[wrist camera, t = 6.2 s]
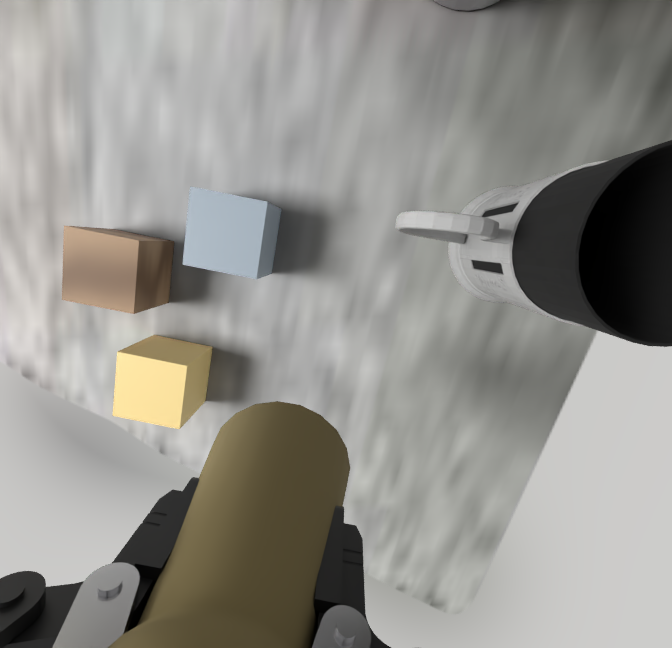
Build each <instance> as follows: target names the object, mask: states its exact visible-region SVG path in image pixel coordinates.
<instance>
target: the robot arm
mask: <svg viewBox="0 0 672 648" xmlns="http://www.w3.org/2000/svg"><path fill="white" fill-rule="evenodd" d="M434 1H435V2H437V3H438V4H440V5H442V6H445V7H448V8H451V9H454V10H467V11H469V10H475V9H481V8H485V7H487V6H490V5H492V4H494V3H497V2H499V1H500V0H434ZM199 479H200V478H195V477H193V478H192V479H191V480H190V481H189V483H188V484H187V486H186V487H185V489H184V490H183V492H182V491H177V490H172V491H170V492H169V493H167V494H166V495H165V496H163V497H162V498H160V499H159V500H158V502H157V503H156V504H155V506H154V507H153V508H152V510H151V511H150V513H149V514H148V515H147V517H146V518H145V519H144V521H143V523H142V524H141V525H140V526H139V527H138V529H137V530H136V531H135V533H134V534H133V535H132V537H131V538H130V540H129V541H128V542H127V544H126V545H125V546H124V548H123V549H122V550H121V552H120V553H119V554H118V556H117V557H116V558H115V560H114V561H113V562H112V564H108V565H105V566H103V567H101V568H99V569H97V570H96V571H94V572H93V573H92V574H90V575H89V576H88V577H87V578H86V580H85V581H83V582H80V583H75V584H68V585H60V586H51V587H46V583H45V579H44V577H43V576H42V575H41V574H39V573H37V572H32V571H23V572H17V573H13V574H10V575H7V576H5V577H3V578H1V579H0V648H108V647H109V646H110V645H111V644H112V643H114V642H115V641H116V640H117V639H118V638H119V637H120V636H122V635H123V634H125V633H126V632H128V631H130V630H131V629H133V628H135V627H136V626H137V624H138V622H139V620H140V617H141V615H142V613H143V610H144V608H145V605H146V603H147V601H148V598H149V596H150V594H151V592H152V589H153V587H154V585H155V583H156V581H157V579H158V577H159V575H160V574H161V572H162V570H163V568H164V566H165V564H166V562H167V560H168V558H169V556H170V554H171V552H172V550H173V548H174V546H175V543H176V540H177V538H178V535H179V532H180V530H181V527H182V525H183V522H184V519H185V517H186V514H187V511H188V509H189V506H190V503H191V501H192V498H193V496H194V493H195V490H196V488H197V485H198V482H199ZM314 609H315V614H316V618H317V625H316V630H315V635H314V640H313V646H312V648H391V647H389V646H387V645H386V644H384V643H383V642H382V641H381V640H379V639H378V638H377V636H376V635H375V634H374V633H373V631H372V630H371V628H370V626H369V624H368V622H367V619H366V615H365V596H364V570H363V543H362V537H361V535H360V533H359V531H358V529H357V527H356V526H355V525H350V524H345V523H344V507H342V506H336V507H335V510H334V514H333V518H332V522H331V526H330V530H329V533H328V537H327V541H326V545H325V549H324V553H323V557H322V561H321V565H320V569H319V572H318V576H317V582H316V590H315V598H314Z"/></svg>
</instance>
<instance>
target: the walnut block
mask: <svg viewBox="0 0 672 648" xmlns="http://www.w3.org/2000/svg"><path fill="white" fill-rule="evenodd" d="M173 250H174V241H170V240H165V239H160V238H155V237H149V236H144V235H139V234H134V233H129V232H124V231H119V230H114V229H104V228H89V227H75V226H64V245H63V281H62V300H66V301H71V302H76V303H81V304H86V305H91V306H96V307H102V308H107V309H112V310H117V311H122V312H127V313H132V314H135V313H138V312H141V311H144V310H147V309H150V308H154V307H157V306H160V305H163V304H166V303H169V294H170V283H171V272H172V261H173Z"/></svg>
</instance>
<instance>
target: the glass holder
mask: <svg viewBox="0 0 672 648" xmlns="http://www.w3.org/2000/svg"><path fill="white" fill-rule="evenodd" d="M395 227H396V229H397V230H398V231H400V232H403V233H406V234H410V235H414V236H419V237H425V238H430V239H436V240H442V241H447V242H449V245H448V255H449V262H450V266H451V269H452V271H453V274H454V276H455V278H456V279H457V280H458V282H459V283H460V285H461V286H462V287H463V288H464V289H465V290H467V291H468V292H469V293H471V294H472V295H474V296H475V297H478V298H480V299H483V300H486V301H490V302H501V303H505V302H508V303H511V304H514V305H516V306H519V307H522V308H525V309H528V310H530V311H533V312H536V313H539V314H542V315H544V316H547V317H550V318H553V319H555V320H558V321H561V322H565V323H569V324H573V325H578V326H587V327H589V328H592V329H595V330H598V331H601V332H605V333H607V334H610V335H613V336H616V337H619V338H622V339H625V340H628V341H631V342H634V343H638V344H643V345H647V346H664V347H667V346H672V140H671V141H668V142H664V143H661V144H658V145H655V146H652V147H649V148H646V149H643V150H640V151H637V152H634V153H631V154H628V155H625V156H622V157H618V158H615V159H612V160H608V161H600V162H594V163H589V164H585V165H582V166H579V167H576V168H573V169H570V170H567V171H564V172H561V173H558V174H555V175H552V176H549V177H546V178H543V179H541V180H538V181H535V182H532V183H529V184H526V185H523V186H505V187H499V188H495V189H492V190H489V191H487V192H485V193H483V194H481V195H479V196H478V197H476V198H475V199H474V200H473V201H471V202H470V203H469V204H468V205H467V206H466V207H465V208H464V209H463V210H462V212H461V213H460V214H459V213H450V212H438V211H407V212H403V213H400V214H399V215H398V217H397V219H396V225H395Z"/></svg>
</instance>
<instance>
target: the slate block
mask: <svg viewBox="0 0 672 648" xmlns="http://www.w3.org/2000/svg"><path fill="white" fill-rule="evenodd" d="M281 210H282V209H280V208H278V207H277V206H275V205H273V204H271V203H269V202H267V201H262V200H257V199H251V198H246V197H241V196H236V195H231V194H226V193H221V192H216V191H211V190H206V189H201V188H196V187H191V186H190V193H189V203H188V213H187V223H186V234H185V244H184V254H183V264H182V265H187V266H192V267H197V268H202V269H207V270H212V271H217V272H222V273H228V274H233V275H238V276H243V277H248V278H253V279H258V278H261V277H264V276H266V275H269V274H272V269H273V262H274V256H275V249H276V243H277V236H278V229H279V223H280V216H281Z"/></svg>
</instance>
